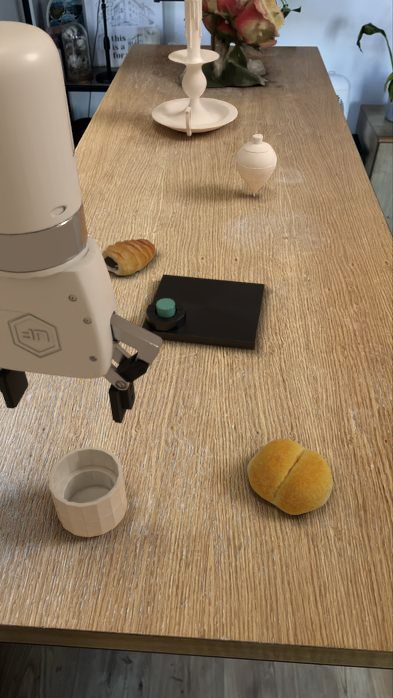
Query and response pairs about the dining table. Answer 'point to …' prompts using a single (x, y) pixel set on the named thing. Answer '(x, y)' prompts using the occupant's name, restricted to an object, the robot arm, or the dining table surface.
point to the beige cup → (88, 491)
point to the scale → (208, 311)
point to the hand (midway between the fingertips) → (69, 403)
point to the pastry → (128, 256)
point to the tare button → (165, 307)
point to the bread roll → (290, 476)
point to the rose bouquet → (238, 39)
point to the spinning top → (256, 162)
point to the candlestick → (194, 85)
